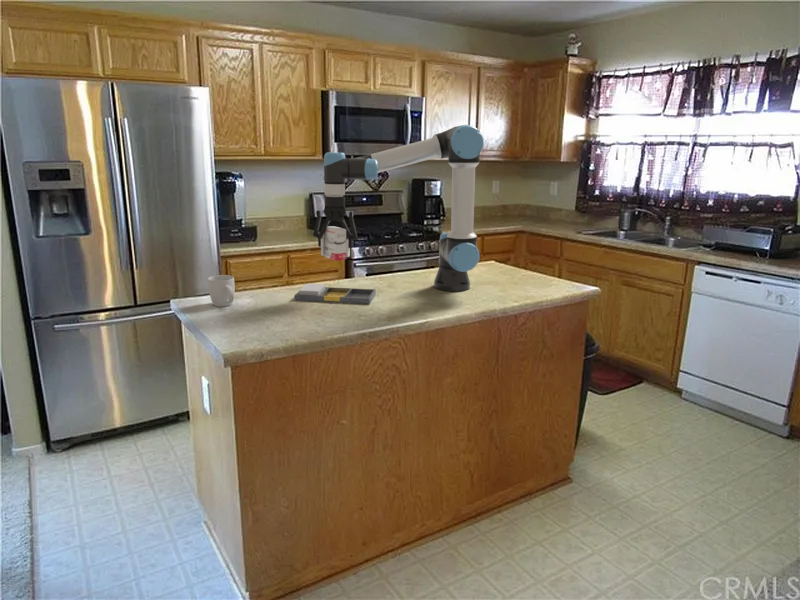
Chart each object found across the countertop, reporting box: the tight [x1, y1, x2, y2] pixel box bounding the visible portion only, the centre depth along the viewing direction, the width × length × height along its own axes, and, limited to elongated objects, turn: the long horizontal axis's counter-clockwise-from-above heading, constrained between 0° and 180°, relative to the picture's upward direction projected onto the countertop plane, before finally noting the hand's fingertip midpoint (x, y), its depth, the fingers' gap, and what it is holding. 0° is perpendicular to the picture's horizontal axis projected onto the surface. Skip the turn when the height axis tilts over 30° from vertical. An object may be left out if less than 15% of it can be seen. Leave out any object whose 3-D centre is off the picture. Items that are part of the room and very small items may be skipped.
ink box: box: [323, 225, 348, 262], centre depth 207 cm, size 8×5×12 cm, turn 39°
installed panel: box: [298, 283, 327, 296], centre depth 213 cm, size 8×11×3 cm
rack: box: [294, 286, 377, 305], centre depth 213 cm, size 29×14×2 cm, turn 83°
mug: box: [207, 274, 236, 308], centre depth 198 cm, size 13×9×10 cm
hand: (335, 255), depth 209 cm, fingers closed on ink box, 9 cm apart
